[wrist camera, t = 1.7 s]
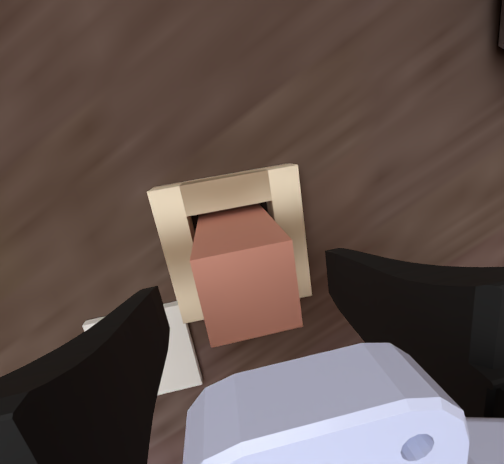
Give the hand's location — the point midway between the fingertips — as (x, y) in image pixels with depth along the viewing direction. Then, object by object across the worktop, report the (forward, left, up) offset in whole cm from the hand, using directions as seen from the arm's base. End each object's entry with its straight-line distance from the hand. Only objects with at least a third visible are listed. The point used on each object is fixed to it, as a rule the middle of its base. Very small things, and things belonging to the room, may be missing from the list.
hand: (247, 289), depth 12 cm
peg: (0, 0, -8) cm, 8 cm away
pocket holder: (0, 0, -7) cm, 7 cm away
